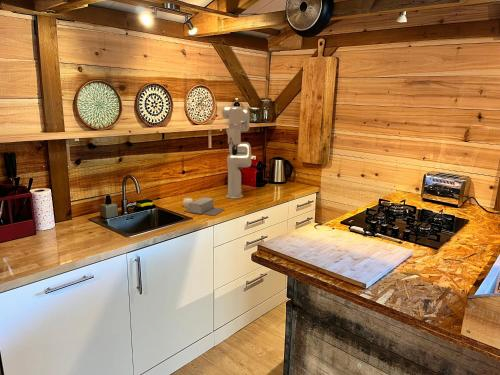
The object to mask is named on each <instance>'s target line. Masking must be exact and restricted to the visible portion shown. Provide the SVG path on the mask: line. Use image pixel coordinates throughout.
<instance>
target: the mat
mask: <svg viewBox="0 0 500 375" xmlns="http://www.w3.org/2000/svg"><path fill="white" fill-rule="evenodd" d="M225 210H226V209H225V208H220V207H219V208H217V207H214V208H212V209H210V210H208V211H206V212H204V213H202V214H201V215H205V216H212V217H216V216H217V215H219V214H221V213H222V212H224V211H225ZM183 212H184V213H190V214H194V213H193V212H191V207H188V208H187V209H185V210H183ZM195 214H198V213H195Z"/></svg>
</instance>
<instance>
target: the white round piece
mask: <svg viewBox="0 0 500 375" xmlns="http://www.w3.org/2000/svg"><path fill="white" fill-rule="evenodd" d="M191 202H194V201H193V198H192V197H185V198H183V201H182V203H183V208H191V206H190V203H191Z"/></svg>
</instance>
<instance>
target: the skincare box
mask: <svg viewBox="0 0 500 375" xmlns="http://www.w3.org/2000/svg"><path fill="white" fill-rule="evenodd" d="M214 200H215V199H214V198H210V197H204V196H203V197H202V198H199V199H196V200H194V201H193V202H191V203H190V206H191V207H190V208H191V212H193V213H192V214H196V213H198V214H199V215H203V214H202V213H204V212H206V211H208V210H210V209H212V208H215V201H214Z"/></svg>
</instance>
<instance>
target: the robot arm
mask: <svg viewBox="0 0 500 375" xmlns="http://www.w3.org/2000/svg"><path fill="white" fill-rule="evenodd" d="M221 115H222V118H223V119H227V121H226V123H225V126H226V125H228V126H229V128H227V129H226V128H225V131H226V134H227V144H228V151H229V154H228V155H227V157H226V163H227V194H226V195H225V197H226V198H229V199H235V200H237V199H242V198H243V197H244V195H243V194H242V191H243V189H242V172H241V170H240V169H239V168H249V167H251V165H252V147H251V144H250V143H249V142H248V141H247V142H246V141H243V142H242V141H241V137H242V136H241V133H242V132H249V130H250V117H251V116H250V110H249V109H247V108H243V107H242V106H230V105H229V106H223V107H222V108H221Z"/></svg>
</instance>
